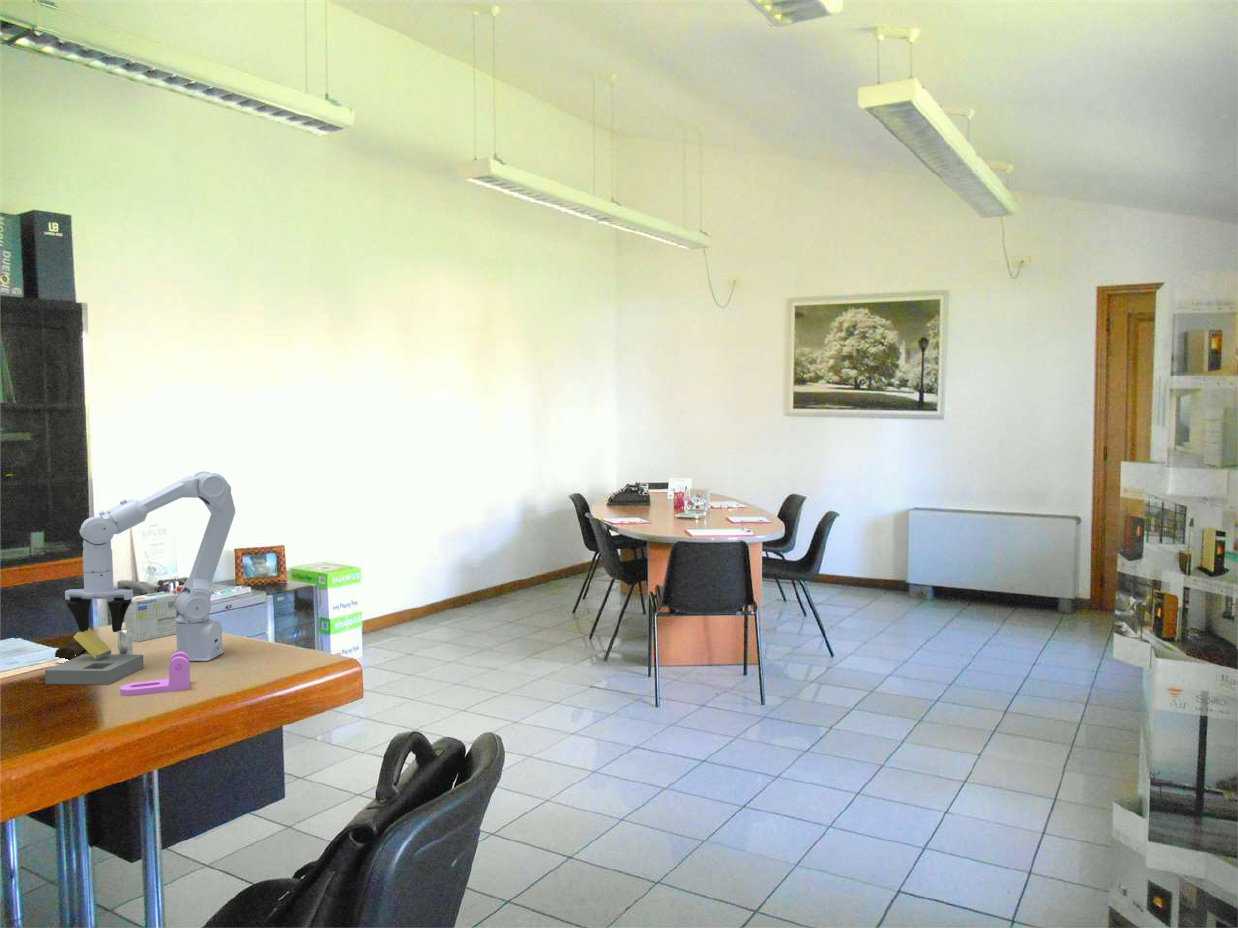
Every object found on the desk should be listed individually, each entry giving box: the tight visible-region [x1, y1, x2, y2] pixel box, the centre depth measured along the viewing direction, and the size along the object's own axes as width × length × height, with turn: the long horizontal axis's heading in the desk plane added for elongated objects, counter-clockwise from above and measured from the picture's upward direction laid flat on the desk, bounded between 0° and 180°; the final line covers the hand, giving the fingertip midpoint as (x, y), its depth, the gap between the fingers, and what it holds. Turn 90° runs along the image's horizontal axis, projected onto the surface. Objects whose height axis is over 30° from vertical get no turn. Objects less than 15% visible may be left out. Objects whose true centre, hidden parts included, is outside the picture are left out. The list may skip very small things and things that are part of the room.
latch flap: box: [73, 627, 112, 659], centre depth 204 cm, size 8×4×2 cm
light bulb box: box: [124, 591, 178, 643], centre depth 236 cm, size 11×7×11 cm, turn 144°
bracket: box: [119, 651, 191, 697], centre depth 190 cm, size 13×6×7 cm, turn 113°
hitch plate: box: [44, 653, 145, 686], centre depth 201 cm, size 14×13×3 cm
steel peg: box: [116, 627, 134, 655], centre depth 210 cm, size 3×3×8 cm
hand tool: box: [54, 638, 86, 660], centre depth 220 cm, size 19×4×5 cm, turn 11°
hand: (100, 630), depth 203 cm, fingers open, 7 cm apart
